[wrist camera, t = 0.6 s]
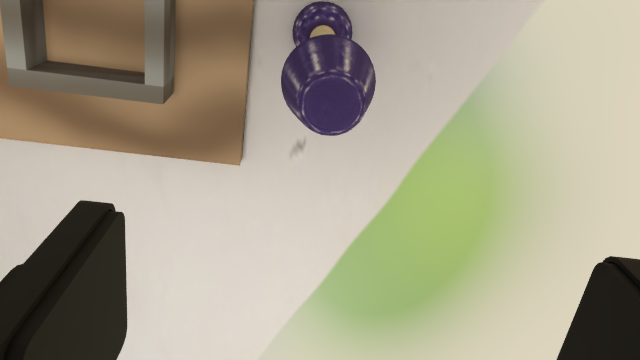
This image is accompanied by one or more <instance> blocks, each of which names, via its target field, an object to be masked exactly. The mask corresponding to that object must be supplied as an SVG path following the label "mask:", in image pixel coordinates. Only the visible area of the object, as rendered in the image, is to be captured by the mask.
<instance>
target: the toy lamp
mask: <svg viewBox="0 0 640 360" xmlns="http://www.w3.org/2000/svg"><path fill="white" fill-rule="evenodd" d="M351 38H352V26H351V21H350V19H349V17H348V15H347V14H346V12H345V11H344V10H343V9H342V8H341V7H339V6H337V5H335V4H333V3H329V2H316V3H312V4H310V5H308V6H306V7H305V8H304V9H303V10H302V11H301V12H300V13H299V15H298V16H297V18H296V20H295V22H294V26H293V39H294V43H295V45H296V48H295V49H294V50H293V51H292V52H291V53H290V55H289V56H288V58H287V60H286V62H285V64H284V67H283V70H282V76H281V85H282V92H283V96H284V99H285V101H286V103H287V105H288V107H289V108H290V110H291V111H292V112H293V114H294V115H295V116H296V117H297V118H298V119H299V120H300V121H301V122H302V123H303V124H304V125H305V126H306V127H307V128H309V129H310V130H312V131H314V132H315V133H318V134H321V135H328V136H335V135H340V134H343V133H346V132H348V131H349V130H351V129H352V128H354V127H355V126H356V125H357V124H358V123H359V122H360V120H361V119H362V117H363V116H364V114H365V112H366V110H367V108H368V106H369V105H370V103H371V100H372V98H373V95H374V91H375V83H376V80H375V71H374V67H373V64H372V62H371V60H370V58H369V56H368V54H367V53H366V52H365V51H364V49H363V48H362V47H361V46H359V45H358V44H357V43H355V42H354V41H352V40H351Z"/></svg>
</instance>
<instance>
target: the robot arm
mask: <svg viewBox="0 0 640 360" xmlns="http://www.w3.org/2000/svg"><path fill="white" fill-rule="evenodd" d="M126 332H127V294H126V250H125V217H124V214H123V212H115V207H114V205H113V204H111V203H102V202H92V201H79V202H78V203H77V204H76V205H75V206H74V208H73V209H72V210H71V211H70V212H69V213H68V214H67V215H66V217H65V218H64V219H63V220H62V221H61V222H60V223H59V224H58V226H57V227H56V228H55V229H54V230H53V231H52V232H51V233H50V235H49V236H48V237H47V238H46V239H45V240H44V241H43V242H42V244H41V245H40V246H39V247H38V248H37V249H36V250H35V251H34V253H33V254H32V255H31V256H30V257H29V258H28V259H27V260H26V262H25V263H24V264H21V265H17V266H16V267H15V268H13V269H12V270H11V271H10V272H9V273H8V274H7V275H6V276H5V277H4V279H3V280H2V281H1V282H0V360H116V359H117V357H118V355H119V353H120V351H121V349H122V346H123V344H124V341H125V337H126ZM557 360H640V260H639V259H631V258H621V257H612V256H610V257H608V258H606V259H605V260H604V261H603V262H602V263H598V264H597V265H596V266H595V268H594V269H593V272H592V274H591V277H590V279H589V282H588V284H587V286H586V289H585V291H584V294H583V296H582V299H581V301H580V304H579V307H578V309H577V311H576V313H575V316H574V318H573V321H572V323H571V326H570V328H569V331H568V333H567V336H566V338H565V341H564V343H563V346H562V348H561V350H560V353H559V355H558V358H557Z"/></svg>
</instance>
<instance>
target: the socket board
mask: <svg viewBox="0 0 640 360" xmlns="http://www.w3.org/2000/svg"><path fill="white" fill-rule="evenodd" d="M253 10H254V0H0V138H3V139H11V140H20V141H29V142H38V143H47V144H55V145H64V146H73V147H82V148H91V149H100V150H108V151H117V152H126V153H135V154H144V155H152V156H161V157H170V158H179V159H188V160H196V161H205V162H214V163H223V164H232V165H240V163H241V160H242V152H243V139H244V126H245V113H246V100H247V87H248V74H249V61H250V48H251V35H252V23H253Z"/></svg>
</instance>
